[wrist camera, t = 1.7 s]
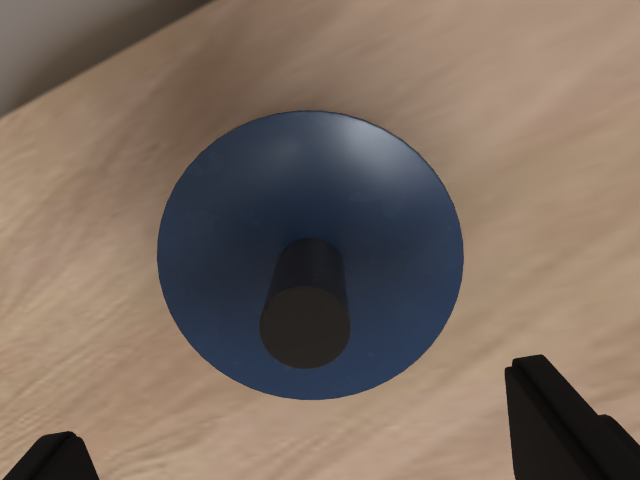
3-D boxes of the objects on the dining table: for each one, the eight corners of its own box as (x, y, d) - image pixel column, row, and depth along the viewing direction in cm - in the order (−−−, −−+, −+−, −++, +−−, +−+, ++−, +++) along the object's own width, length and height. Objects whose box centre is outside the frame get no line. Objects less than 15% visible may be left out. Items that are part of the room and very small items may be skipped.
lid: (325, 38, 18) (326, -2, 11) (514, 274, 21) (599, 349, 14) (105, 247, 20) (5, 310, 14) (299, 431, 23) (290, 553, 17)
